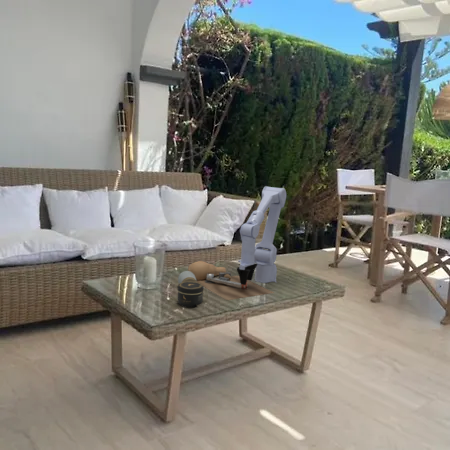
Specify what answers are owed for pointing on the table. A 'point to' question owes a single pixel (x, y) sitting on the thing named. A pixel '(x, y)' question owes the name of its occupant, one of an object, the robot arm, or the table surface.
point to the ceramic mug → (187, 277)
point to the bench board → (234, 288)
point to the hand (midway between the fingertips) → (246, 282)
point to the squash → (204, 269)
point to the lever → (224, 281)
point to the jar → (190, 294)
